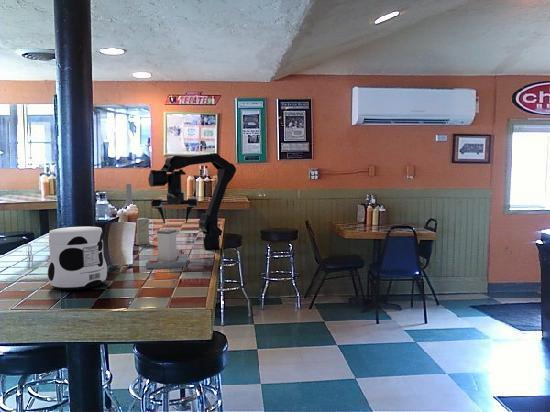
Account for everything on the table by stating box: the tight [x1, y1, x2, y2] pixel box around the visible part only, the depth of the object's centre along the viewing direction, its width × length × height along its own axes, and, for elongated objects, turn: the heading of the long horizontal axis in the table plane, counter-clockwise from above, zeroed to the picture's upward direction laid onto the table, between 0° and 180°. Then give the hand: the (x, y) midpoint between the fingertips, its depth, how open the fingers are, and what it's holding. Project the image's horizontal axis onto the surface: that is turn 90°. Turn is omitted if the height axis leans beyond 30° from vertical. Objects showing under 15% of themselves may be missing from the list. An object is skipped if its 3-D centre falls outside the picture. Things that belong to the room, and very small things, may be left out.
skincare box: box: [134, 217, 150, 246], centre depth 230 cm, size 6×4×12 cm
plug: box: [156, 228, 178, 261], centre depth 184 cm, size 5×5×12 cm
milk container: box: [47, 226, 108, 291], centre depth 152 cm, size 17×17×18 cm
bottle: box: [122, 183, 135, 210], centre depth 245 cm, size 7×7×28 cm
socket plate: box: [145, 254, 189, 270], centre depth 185 cm, size 14×14×2 cm
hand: (175, 222), depth 206 cm, fingers open, 9 cm apart
